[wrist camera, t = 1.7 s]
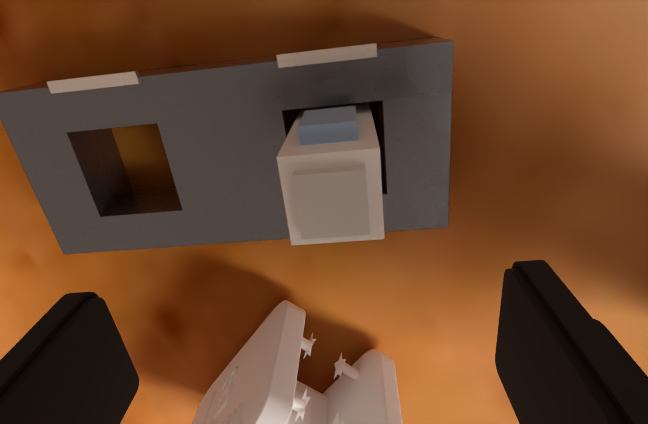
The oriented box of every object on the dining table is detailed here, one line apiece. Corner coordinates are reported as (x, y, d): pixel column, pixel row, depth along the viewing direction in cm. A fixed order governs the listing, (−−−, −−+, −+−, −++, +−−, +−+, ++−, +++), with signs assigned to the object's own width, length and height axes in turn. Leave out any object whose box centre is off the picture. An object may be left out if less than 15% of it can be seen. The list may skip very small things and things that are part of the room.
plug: (367, 84, 24) (379, 131, 14) (372, 161, 26) (385, 246, 16) (301, 91, 24) (270, 141, 15) (310, 166, 26) (289, 253, 17)
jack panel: (436, 30, 22) (454, 34, 18) (434, 198, 27) (449, 229, 23) (39, 77, 25) (-18, 89, 21) (98, 224, 29) (61, 256, 25)
